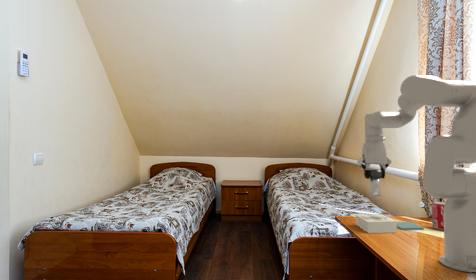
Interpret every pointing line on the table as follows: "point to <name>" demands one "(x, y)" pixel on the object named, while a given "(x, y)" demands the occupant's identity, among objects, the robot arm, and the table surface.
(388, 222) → the block
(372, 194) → the handwheel peg
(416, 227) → the pad
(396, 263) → the table surface
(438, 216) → the soda can
